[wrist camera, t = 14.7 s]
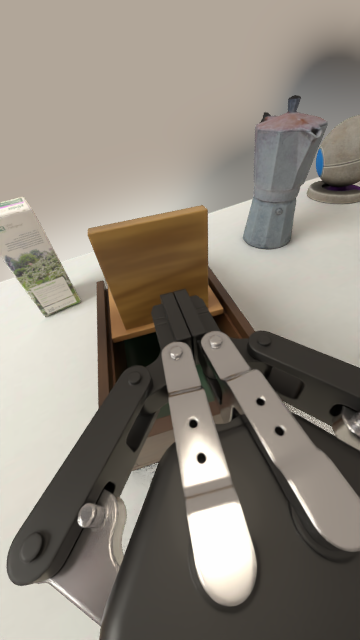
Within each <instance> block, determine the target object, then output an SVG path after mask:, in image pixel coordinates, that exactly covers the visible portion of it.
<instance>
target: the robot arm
mask: <svg viewBox="0 0 360 640" xmlns="http://www.w3.org/2000/svg"><path fill="white" fill-rule="evenodd" d="M160 300H161V304H159V305H155V306H153V308H152V311H151V315H152V318H153V322H154V326H155V330H156V334H157V337H158V341H159V345H160V348H161V351H160V354H159V356H158V358H157V359H156V360H155V361H154V362H153V363H151V364H150V365H148V366H146V367H144V366H141V365H135V366H131V367H129V368H127V369H126V370H125V371H124V372H123V373H122V374H121V376H120V377H119V379H118V380H117V382H116V383H115V385H114V386H113V388H112V390H111V391H110V393H109V394H108V396H107V397H106V399H105V400H104V402H103V403H102V405H101V406H100V408H99V409H98V411H97V412H96V414H95V415H94V417H93V418H92V420H91V422H90V423H89V425H88V426H87V428H86V429H85V431H84V432H83V434H82V435H81V437H80V438H79V440H78V441H77V443H76V444H75V446H74V447H73V449H72V451H71V452H70V454H69V455H68V457H67V458H66V460H65V461H64V463H63V464H62V466H61V467H60V469H59V470H58V472H57V473H56V475H55V476H54V478H53V479H52V481H51V483H50V484H49V486H48V487H47V489H46V490H45V492H44V493H43V495H42V496H41V498H40V499H39V501H38V502H37V504H36V505H35V507H34V508H33V510H32V511H31V513H30V515H29V516H28V518H27V519H26V521H25V522H24V524H23V525H22V527H21V528H20V530H19V531H18V533H17V534H16V536H15V538H14V540H13V542H12V544H11V546H10V549H9V552H8V556H7V573H8V576H9V578H10V580H11V581H12V582H13V583H14V584H16V585H20V586H23V585H29V584H33V583H38V584H40V583H49V584H50V585H51V586H53V587H54V588H55V589H56V590H57V591H59V592H60V593H61V594H62V595H63V596H65V597H66V598H67V599H68V600H69V601H71V602H72V603H73V604H74V605H76V606H77V607H78V608H79V609H80V610H82V611H83V612H84V613H85V614H86V615H88V616H89V617H90V618H91V619H92V620H94V621H95V622H96V623H97V624H98V625H100V626H101V629H100V637H99V640H360V368H359V367H356V366H354V365H351V364H349V363H346V362H343V361H341V360H338V359H336V358H333V357H331V356H328V355H326V354H323V353H321V352H318V351H316V350H313V349H311V348H308V347H306V346H303V345H300V344H298V343H295V342H293V341H290V340H288V339H285V338H283V337H280V336H278V335H275V334H273V333H270V332H267V331H256V332H254V333H252V334H251V335H250V336H249V338H247V339H237V338H231V337H228V336H227V335H226V334H225V333H223V332H221V331H220V329H219V327H218V326H217V324H216V322H215V320H214V319H213V317H212V315H211V313H210V312H209V310H208V308H207V307H206V304H205V303H204V301H203V299H201V298H200V297H198V296H197V295H194V296H189V294H188V292H187V290H186V289H181V290H177V291H173V293H172V292H169V293H165V294H161V295H160ZM197 364H200V365H201V367H202V372H203V377H204V379H205V381H206V383H207V385H208V387H209V389H210V391H211V393H212V395H213V397H214V399H215V401H216V403H217V405H218V407H219V410H220V413H221V417H222V420H223V423H224V424H215V423H214V420H213V416H212V413H211V410H210V406H209V403H208V400H207V396H206V393H205V390H204V388H203V387H202V385H201V382H200V379H199V376H198V372H197V369H196V365H197ZM283 401H284V402H286V403H288V404H290V405H292V406H294V407H296V408H297V409H299V410H301V411H303V412H305V413H307V414H309V415H311V416H313V417H315V418H316V419H318V420H320V421H322V422H324V423H326V424H328V425H330V426H332V428H333V431H334V433H335V436H336V437H335V436H334V435H332V434H330V433H328V432H327V431H325V430H323V429H321V428H320V427H318V426H316V425H314V424H313V423H311V422H309V421H307V420H306V419H304V418H302V417H300V416H299V415H296V414H294V413H292V412H290V411H289V410H288V408H287V407H286V406H285V404H284V403H283ZM168 402H169V407H170V413H171V419H172V425H173V431H174V437H175V442H174V443H173V444H172V445H171V446H170V447H169V448H168V449H167V450H166V451H165V453H164V454H163V456H162V458H161V460H160V462H159V464H158V466H157V469H156V471H155V474H154V477H153V479H152V482H151V485H150V487H149V490H148V493H147V496H146V498H145V501H144V504H143V506H142V509H141V512H140V514H139V517H138V520H137V522H136V525H135V528H134V530H133V533H132V536H131V539H130V541H129V544H128V547H127V549H126V552H125V555H123V551H122V534H123V530H124V527H125V524H126V518H127V512H126V506H125V504H124V502H123V500H122V499H121V498H120V495H121V493H122V491H123V488H124V486H125V484H126V482H127V480H128V478H129V476H130V473H131V471H132V469H133V467H134V465H135V463H136V461H137V459H138V456H139V454H140V452H141V450H142V448H143V446H144V444H145V441H146V439H147V437H148V435H149V433H150V431H151V429H152V427H153V424H154V422H155V420H156V418H157V416H158V414H159V412H160V409H161V407H163V406H164V405H166V404H167V403H168Z"/></svg>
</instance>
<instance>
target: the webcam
mask: <svg viewBox="0 0 360 640" xmlns="http://www.w3.org/2000/svg"><path fill="white" fill-rule="evenodd" d="M316 169H317V173H318V175H319V177H320V178H321V180H322V181H318V182H315V183H313V184H311V185H310V186H309V188H308V192H307V196H308V197H309V198H311V199H313V200H316V201H320V202H326V203H336V204H344V203H354V202H358V201H360V187H359V186H356V185H352V184H355V183H357V182H359V181H360V115H358V116H354V117H351V118H349V119H347V120H345V121H343V122H342V123H341V124H339V125H337V126H336V127H335V128H334V129H333V130H332V131H331V132H330V133H329V134H328V135H327V137H326V138H325V139H324V141H323V142H322V144H321V146H320V148H319V151H318V154H317V158H316Z"/></svg>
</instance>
